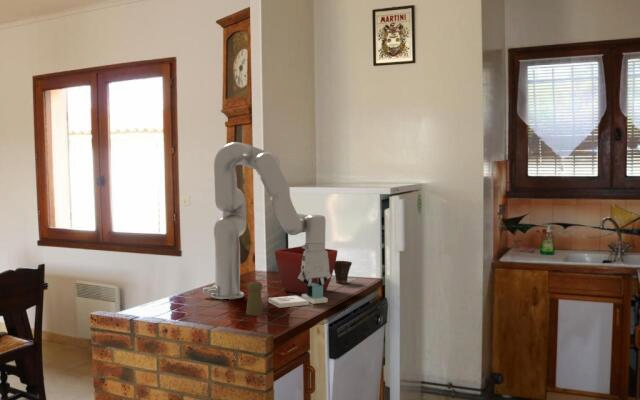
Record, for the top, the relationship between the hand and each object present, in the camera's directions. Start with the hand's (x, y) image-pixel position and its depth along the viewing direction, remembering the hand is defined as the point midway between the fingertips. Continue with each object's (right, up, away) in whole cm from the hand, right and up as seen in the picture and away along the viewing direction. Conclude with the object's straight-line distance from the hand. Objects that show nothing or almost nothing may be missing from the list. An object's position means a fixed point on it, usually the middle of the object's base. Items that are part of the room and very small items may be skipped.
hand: (314, 294), depth 224 cm
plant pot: (-4, -2, +18) cm, 19 cm away
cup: (+12, -1, +37) cm, 38 cm away
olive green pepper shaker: (-21, -3, -21) cm, 29 cm away
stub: (0, -2, 0) cm, 2 cm away
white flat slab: (-10, -2, -5) cm, 11 cm away
